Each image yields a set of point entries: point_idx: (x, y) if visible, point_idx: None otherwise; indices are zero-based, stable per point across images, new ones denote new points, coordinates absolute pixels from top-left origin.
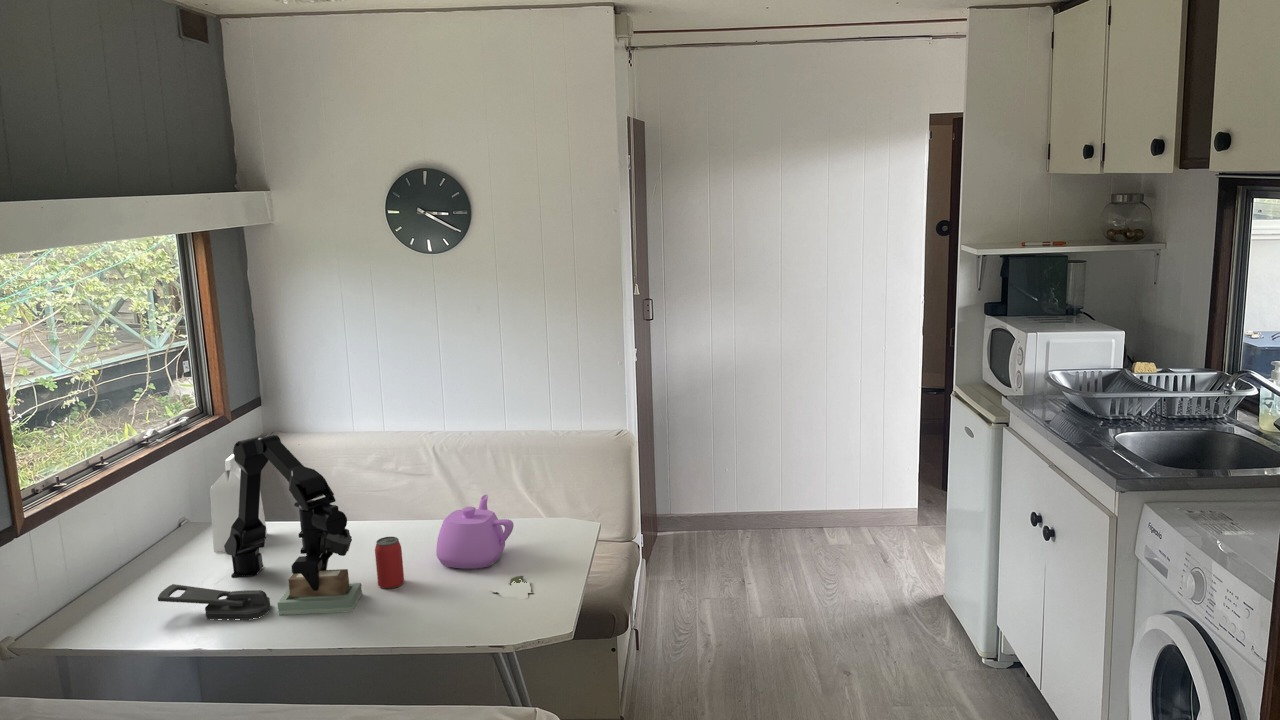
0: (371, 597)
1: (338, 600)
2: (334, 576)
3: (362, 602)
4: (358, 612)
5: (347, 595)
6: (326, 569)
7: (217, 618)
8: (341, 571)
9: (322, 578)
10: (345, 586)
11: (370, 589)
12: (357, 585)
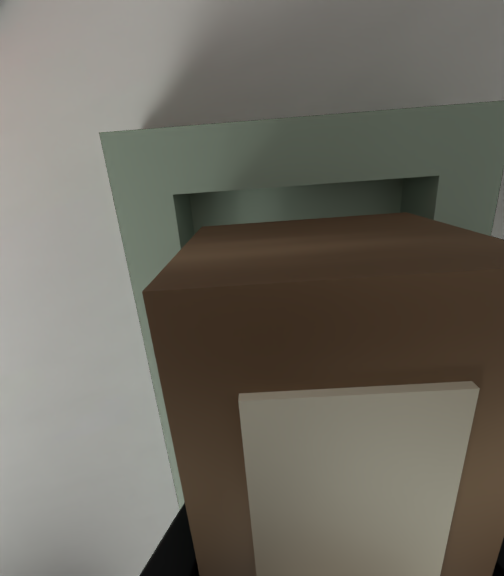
0: (196, 26)
1: (487, 232)
2: (475, 419)
3: (290, 82)
4: (478, 50)
5: (400, 177)
6: (150, 568)
7: None
8: (262, 372)
9: (498, 544)
10: (347, 226)
11: (47, 96)
12: (161, 151)
